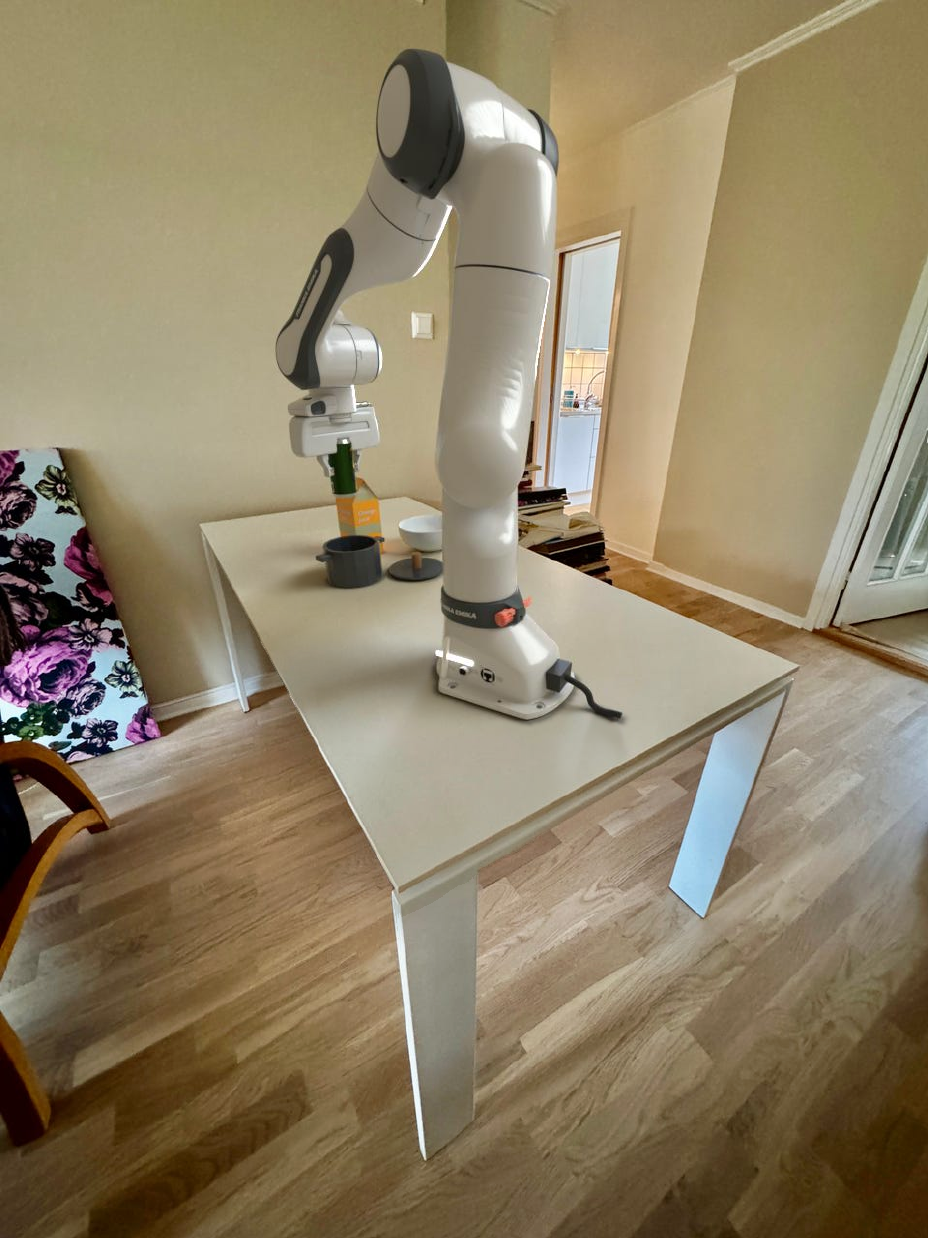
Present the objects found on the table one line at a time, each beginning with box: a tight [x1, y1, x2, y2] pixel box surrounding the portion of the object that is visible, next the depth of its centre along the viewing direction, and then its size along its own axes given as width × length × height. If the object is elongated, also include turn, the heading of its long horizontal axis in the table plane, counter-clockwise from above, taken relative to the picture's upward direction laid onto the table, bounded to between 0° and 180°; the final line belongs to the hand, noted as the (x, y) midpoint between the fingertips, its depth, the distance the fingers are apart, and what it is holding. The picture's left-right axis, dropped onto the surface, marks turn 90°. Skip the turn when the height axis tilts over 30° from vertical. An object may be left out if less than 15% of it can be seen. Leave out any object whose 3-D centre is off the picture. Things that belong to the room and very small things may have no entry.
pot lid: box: [388, 551, 443, 581], centre depth 116 cm, size 14×14×5 cm
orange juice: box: [335, 476, 384, 554], centre depth 126 cm, size 8×9×20 cm
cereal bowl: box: [397, 514, 442, 553], centre depth 131 cm, size 17×17×7 cm
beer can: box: [327, 437, 357, 498], centre depth 102 cm, size 5×5×12 cm
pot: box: [315, 535, 386, 589], centre depth 112 cm, size 13×18×8 cm
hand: (342, 474), depth 103 cm, fingers closed on beer can, 5 cm apart
